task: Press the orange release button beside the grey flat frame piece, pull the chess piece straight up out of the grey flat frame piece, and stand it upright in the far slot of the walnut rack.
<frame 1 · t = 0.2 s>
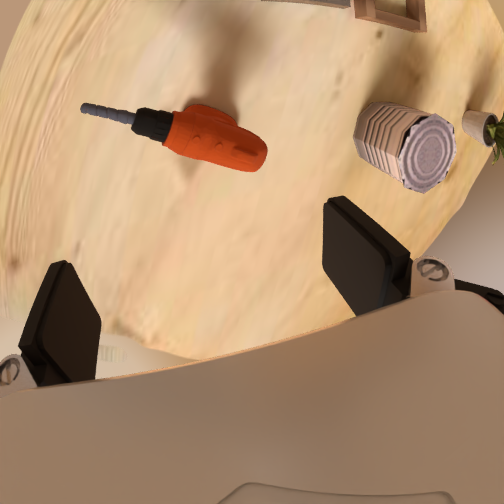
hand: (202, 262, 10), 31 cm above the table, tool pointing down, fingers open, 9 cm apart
toy drill: (175, 115, 35), on the table
can: (380, 133, 43), on the table
house plant: (464, 123, 45), on the table
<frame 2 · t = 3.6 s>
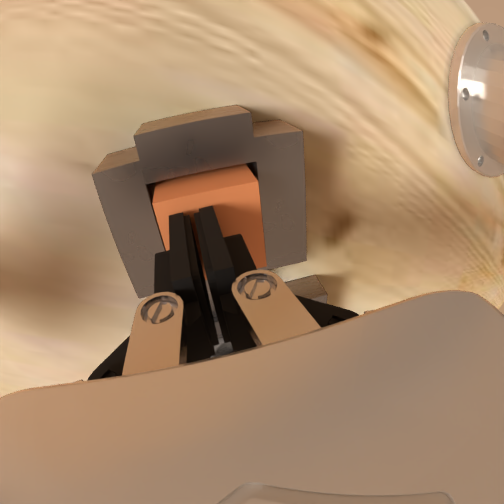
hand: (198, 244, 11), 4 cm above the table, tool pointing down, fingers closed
release button: (210, 221, 12), point 3 cm above the table, slide at 0.2 cm, touching gripper
grey flat frame piece: (238, 352, 22), on the table
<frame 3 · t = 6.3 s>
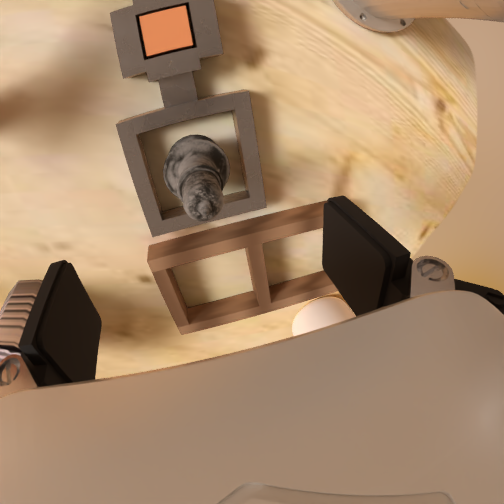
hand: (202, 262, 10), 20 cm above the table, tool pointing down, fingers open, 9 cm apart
release button: (166, 32, 19), point 2 cm above the table, slide at 1.5 cm
can: (42, 309, 33), on the table
chess piece: (194, 160, 29), resting in grey flat frame piece
wine bottle: (318, 315, 46), on the table
grey flat frame piece: (194, 160, 28), on the table
walnut rack: (254, 262, 37), on the table
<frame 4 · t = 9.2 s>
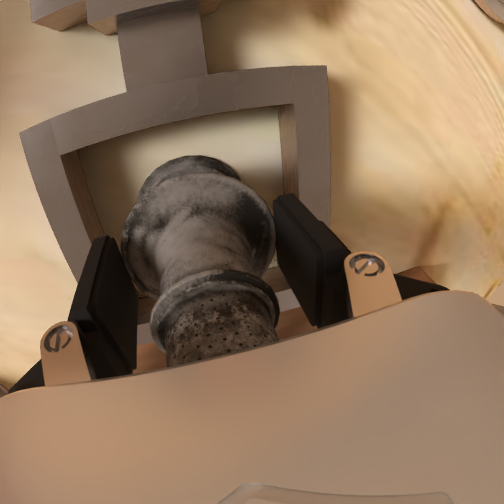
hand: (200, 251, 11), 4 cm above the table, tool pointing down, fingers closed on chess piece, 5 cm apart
chess piece: (192, 208, 14), resting in grey flat frame piece, touching gripper
grey flat frame piece: (192, 209, 14), on the table
walnut rack: (284, 361, 22), on the table
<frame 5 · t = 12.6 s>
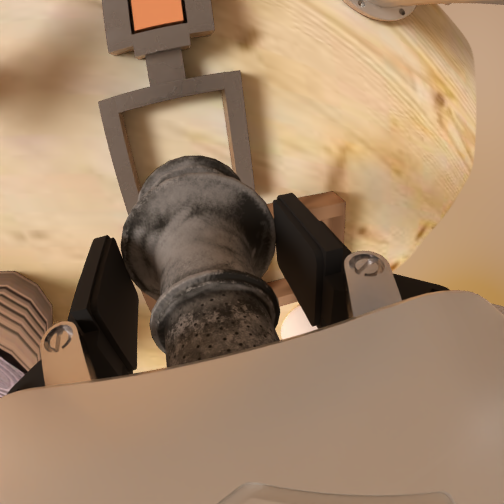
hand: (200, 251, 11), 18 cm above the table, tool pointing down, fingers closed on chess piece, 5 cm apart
release button: (157, 8, 17), point 2 cm above the table, slide at 1.5 cm
can: (17, 304, 30), on the table
chess piece: (192, 208, 14), point 15 cm above the table, touching gripper
wine bottle: (308, 319, 44), on the table
grey flat frame piece: (179, 144, 26), on the table
walnut rack: (241, 258, 34), on the table
when the fingers open (5 cm above the table, at t = 16.5 s): chess piece drops 1 cm, resting in walnut rack.
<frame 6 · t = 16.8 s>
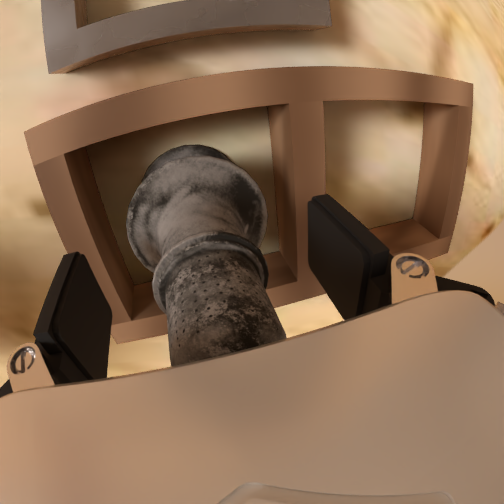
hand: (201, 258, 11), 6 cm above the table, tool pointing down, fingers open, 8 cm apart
chess piece: (190, 193, 15), resting in walnut rack
walnut rack: (287, 178, 16), on the table
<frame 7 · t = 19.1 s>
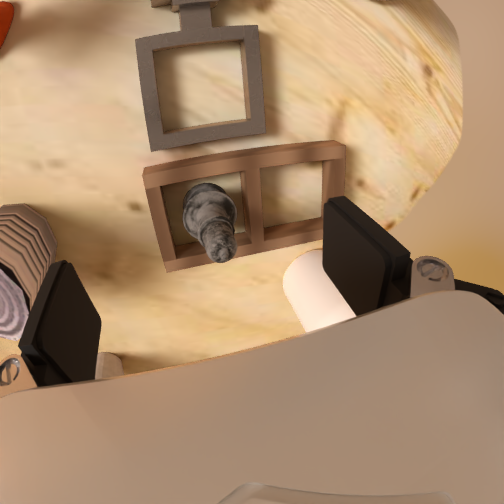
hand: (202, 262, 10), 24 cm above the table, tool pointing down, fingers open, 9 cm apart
can: (21, 242, 30), on the table
chess piece: (205, 203, 35), resting in walnut rack
wine bottle: (309, 273, 45), on the table
grey flat frame piece: (200, 84, 27), on the table
walnut rack: (248, 197, 36), on the table
house plant: (101, 357, 43), on the table
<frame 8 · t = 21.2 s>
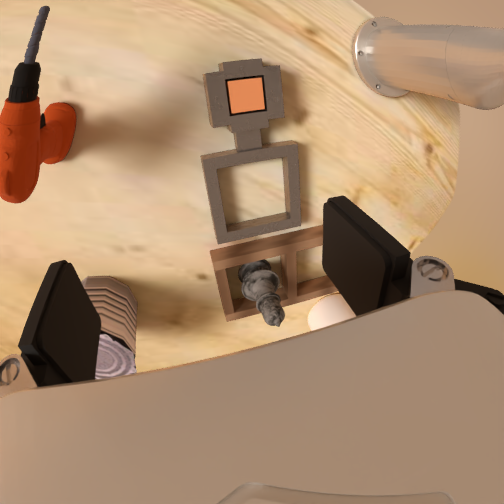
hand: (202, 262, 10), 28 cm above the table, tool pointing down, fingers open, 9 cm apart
release button: (244, 94, 31), point 2 cm above the table, slide at 1.5 cm
toy drill: (65, 97, 27), on the table
can: (104, 302, 44), on the table
chess piece: (254, 271, 48), resting in walnut rack
wine bottle: (327, 309, 58), on the table
grey flat frame piece: (252, 189, 40), on the table
walnut rack: (285, 265, 49), on the table
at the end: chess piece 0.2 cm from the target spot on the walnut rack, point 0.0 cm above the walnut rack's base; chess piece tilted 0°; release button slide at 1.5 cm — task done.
